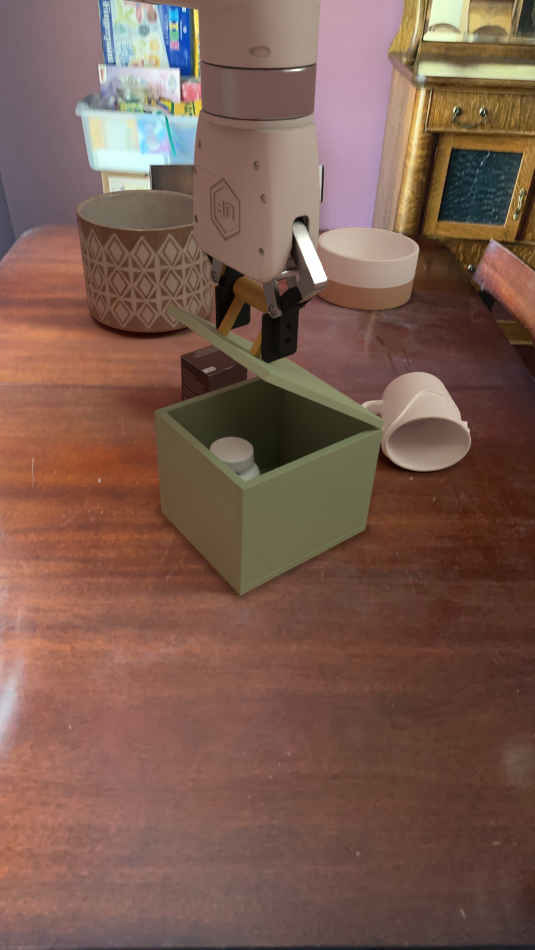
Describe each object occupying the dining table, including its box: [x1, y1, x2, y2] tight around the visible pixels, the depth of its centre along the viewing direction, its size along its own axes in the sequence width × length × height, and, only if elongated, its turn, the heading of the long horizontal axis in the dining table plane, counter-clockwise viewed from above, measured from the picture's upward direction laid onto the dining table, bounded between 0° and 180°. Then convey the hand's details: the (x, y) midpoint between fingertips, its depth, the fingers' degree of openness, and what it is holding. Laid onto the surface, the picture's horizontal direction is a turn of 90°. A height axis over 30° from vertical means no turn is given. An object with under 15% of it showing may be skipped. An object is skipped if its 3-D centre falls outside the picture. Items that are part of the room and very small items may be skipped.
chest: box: [153, 375, 383, 596], centre depth 65 cm, size 16×14×12 cm
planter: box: [75, 189, 214, 334], centre depth 102 cm, size 19×19×16 cm
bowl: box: [317, 226, 420, 311], centre depth 116 cm, size 17×17×8 cm
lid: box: [166, 276, 386, 429], centre depth 59 cm, size 16×14×6 cm
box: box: [179, 344, 248, 401], centre depth 83 cm, size 6×6×7 cm
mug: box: [360, 371, 472, 472], centre depth 78 cm, size 12×9×8 cm
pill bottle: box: [210, 437, 260, 482], centre depth 64 cm, size 5×5×10 cm
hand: (255, 339), depth 56 cm, fingers closed on lid, 5 cm apart
